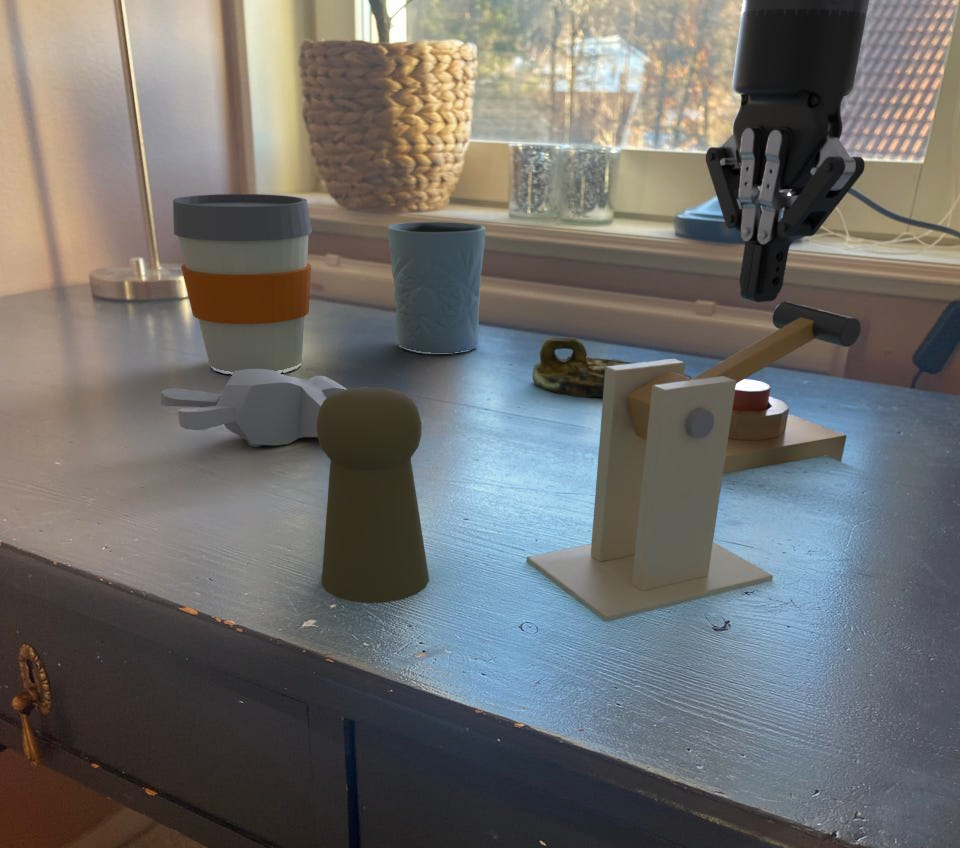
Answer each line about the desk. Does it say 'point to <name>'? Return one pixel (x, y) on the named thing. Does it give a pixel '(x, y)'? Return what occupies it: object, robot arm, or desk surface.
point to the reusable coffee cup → (247, 276)
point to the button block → (777, 439)
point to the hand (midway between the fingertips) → (757, 299)
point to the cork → (371, 496)
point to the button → (751, 396)
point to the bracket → (655, 500)
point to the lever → (759, 352)
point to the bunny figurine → (257, 406)
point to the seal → (571, 369)
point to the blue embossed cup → (437, 284)
